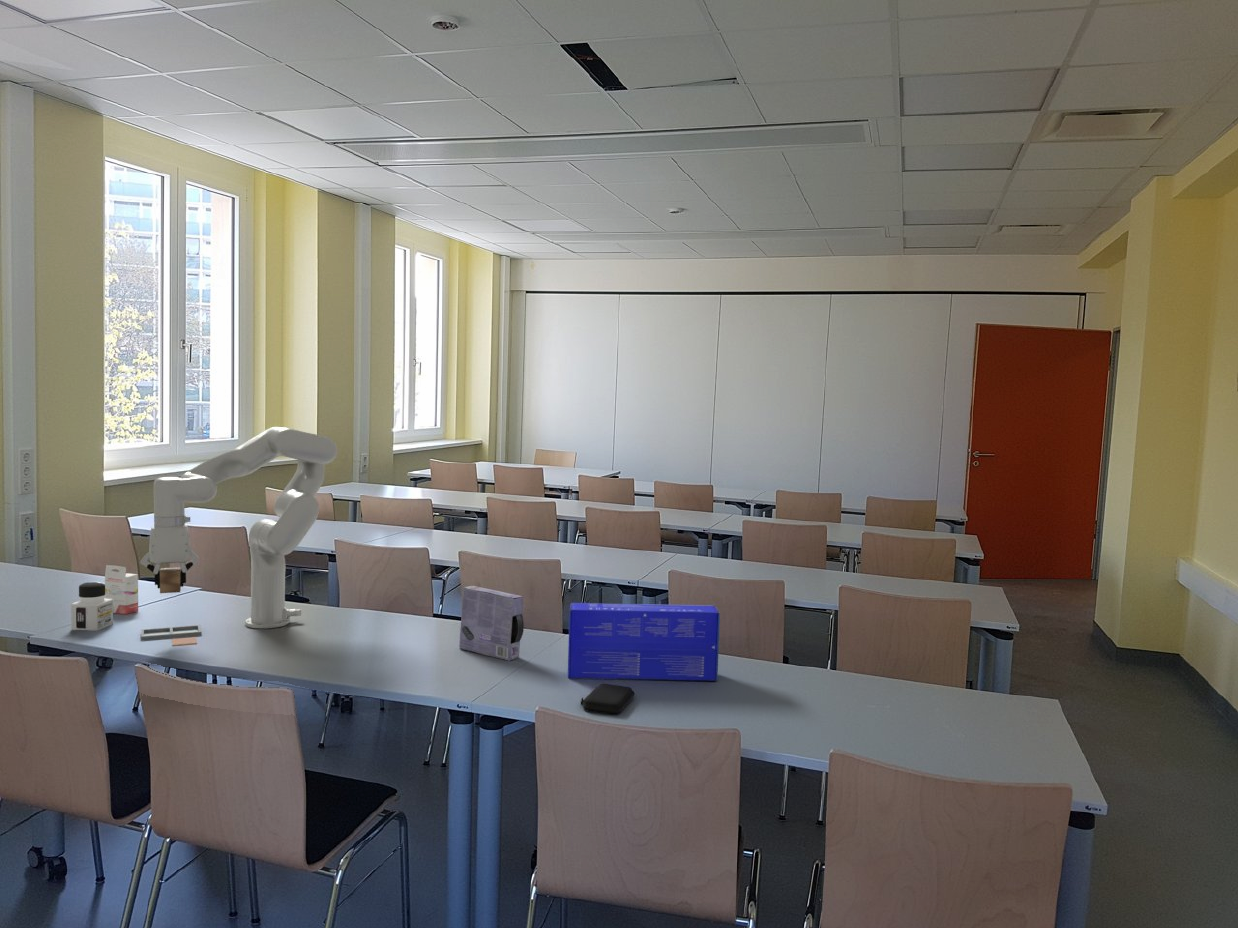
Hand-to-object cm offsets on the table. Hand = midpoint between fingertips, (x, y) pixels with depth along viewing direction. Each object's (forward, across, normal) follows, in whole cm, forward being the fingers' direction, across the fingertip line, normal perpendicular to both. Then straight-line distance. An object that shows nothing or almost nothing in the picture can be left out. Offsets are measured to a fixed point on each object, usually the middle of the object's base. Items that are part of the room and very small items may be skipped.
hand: (170, 585), depth 244 cm
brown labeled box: (+1, 0, 0) cm, 1 cm away
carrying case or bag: (+17, -94, +86) cm, 129 cm away
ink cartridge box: (+15, +15, -36) cm, 42 cm away
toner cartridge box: (+17, -112, +71) cm, 133 cm away
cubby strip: (+15, 0, -4) cm, 16 cm away
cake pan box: (+16, -80, +40) cm, 91 cm away
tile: (+15, -3, +5) cm, 16 cm away
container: (+15, +21, -19) cm, 32 cm away
